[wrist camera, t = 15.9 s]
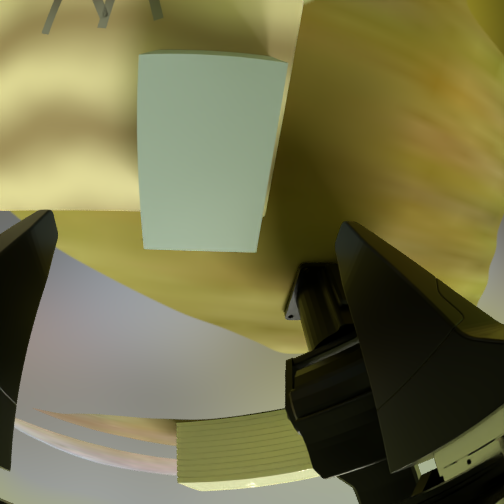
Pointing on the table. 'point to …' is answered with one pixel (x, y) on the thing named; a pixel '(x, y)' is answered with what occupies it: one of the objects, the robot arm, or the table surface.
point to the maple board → (106, 87)
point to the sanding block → (205, 146)
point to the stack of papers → (241, 452)
